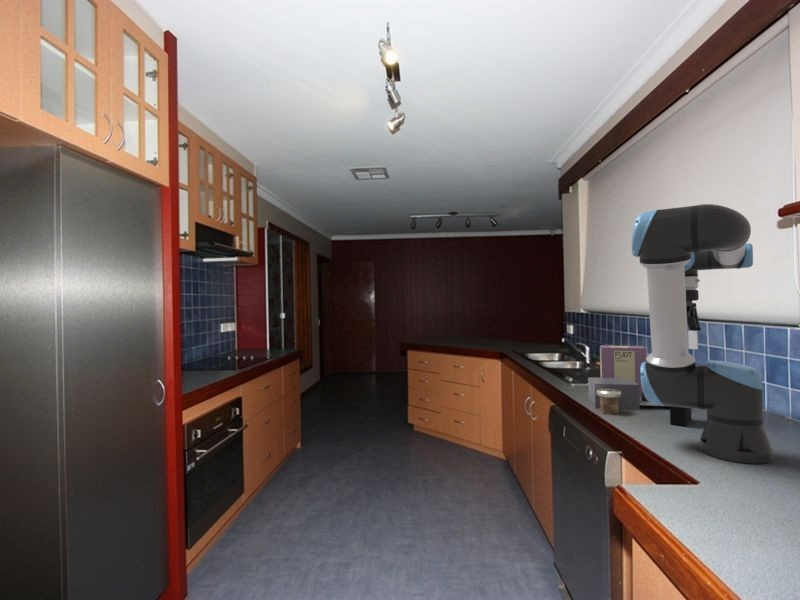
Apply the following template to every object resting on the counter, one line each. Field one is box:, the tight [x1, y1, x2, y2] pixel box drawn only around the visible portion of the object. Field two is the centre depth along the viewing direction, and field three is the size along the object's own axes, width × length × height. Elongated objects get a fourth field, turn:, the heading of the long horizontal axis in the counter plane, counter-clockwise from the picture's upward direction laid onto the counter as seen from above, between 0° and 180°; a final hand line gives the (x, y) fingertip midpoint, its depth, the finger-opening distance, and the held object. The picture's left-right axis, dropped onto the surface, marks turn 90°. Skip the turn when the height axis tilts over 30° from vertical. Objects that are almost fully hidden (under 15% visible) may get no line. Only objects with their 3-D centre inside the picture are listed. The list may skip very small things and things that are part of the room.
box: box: [599, 344, 647, 397], centre depth 188 cm, size 17×9×20 cm, turn 69°
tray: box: [640, 391, 664, 407], centre depth 166 cm, size 17×14×7 cm
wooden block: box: [599, 396, 619, 415], centre depth 158 cm, size 5×5×6 cm
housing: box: [587, 377, 641, 411], centre depth 169 cm, size 15×14×9 cm
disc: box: [596, 389, 621, 398], centre depth 158 cm, size 8×8×2 cm
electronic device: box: [669, 406, 692, 427], centre depth 143 cm, size 4×10×10 cm, turn 137°
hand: (686, 350), depth 153 cm, fingers open, 13 cm apart
